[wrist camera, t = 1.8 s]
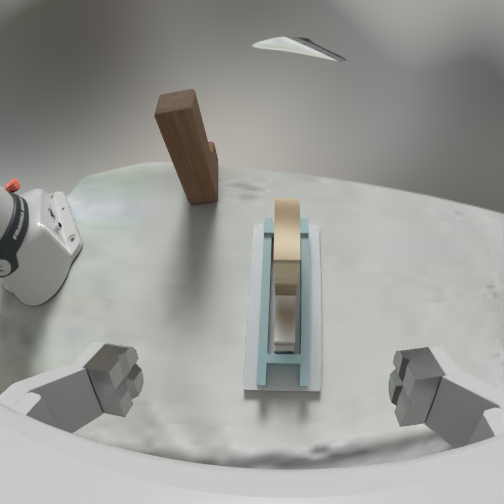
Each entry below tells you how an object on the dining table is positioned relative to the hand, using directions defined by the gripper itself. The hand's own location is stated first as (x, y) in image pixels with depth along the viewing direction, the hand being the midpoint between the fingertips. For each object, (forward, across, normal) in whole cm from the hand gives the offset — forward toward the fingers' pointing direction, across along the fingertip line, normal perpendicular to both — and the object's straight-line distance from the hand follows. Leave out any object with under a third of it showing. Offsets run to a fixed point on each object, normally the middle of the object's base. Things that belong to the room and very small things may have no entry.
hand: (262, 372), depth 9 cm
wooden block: (+42, +12, -4) cm, 44 cm away
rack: (+29, 0, +11) cm, 31 cm away
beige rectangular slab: (+31, 0, +8) cm, 32 cm away
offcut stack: (+26, 0, +13) cm, 29 cm away
